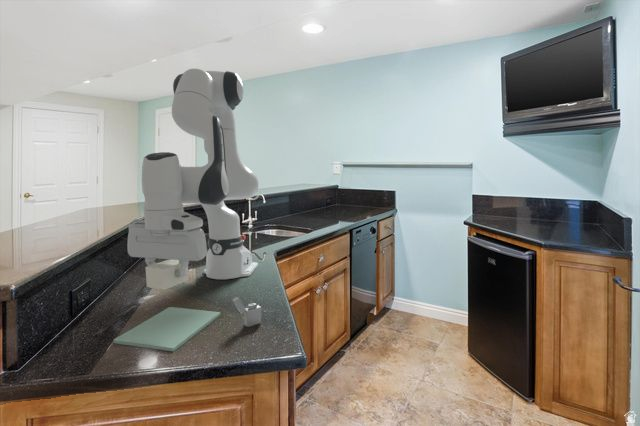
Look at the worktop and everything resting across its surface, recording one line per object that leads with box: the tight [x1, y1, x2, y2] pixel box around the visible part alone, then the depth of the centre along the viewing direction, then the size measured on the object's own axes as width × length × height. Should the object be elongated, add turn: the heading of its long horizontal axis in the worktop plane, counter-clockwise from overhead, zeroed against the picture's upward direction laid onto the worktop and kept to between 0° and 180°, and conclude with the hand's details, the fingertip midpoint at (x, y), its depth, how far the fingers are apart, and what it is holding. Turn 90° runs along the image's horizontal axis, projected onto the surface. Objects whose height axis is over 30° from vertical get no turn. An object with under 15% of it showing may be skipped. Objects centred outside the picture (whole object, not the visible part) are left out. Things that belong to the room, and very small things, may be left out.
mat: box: [113, 306, 221, 353], centre depth 91 cm, size 20×16×1 cm
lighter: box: [232, 296, 262, 328], centre depth 92 cm, size 7×2×8 cm, turn 127°
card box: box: [144, 259, 190, 291], centre depth 89 cm, size 6×8×5 cm
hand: (168, 275), depth 89 cm, fingers closed on card box, 6 cm apart
